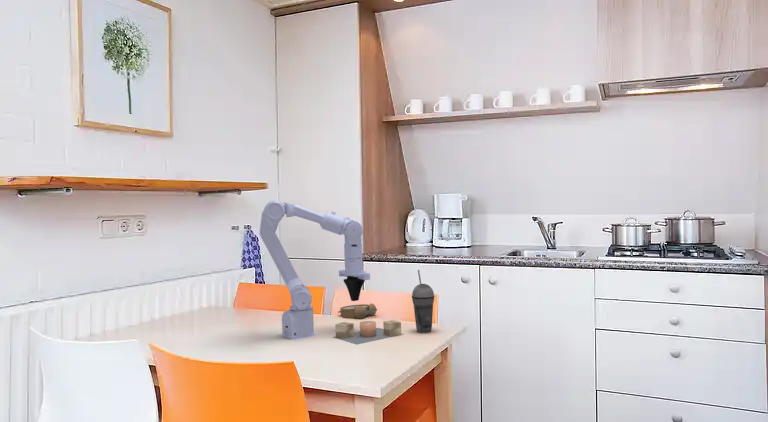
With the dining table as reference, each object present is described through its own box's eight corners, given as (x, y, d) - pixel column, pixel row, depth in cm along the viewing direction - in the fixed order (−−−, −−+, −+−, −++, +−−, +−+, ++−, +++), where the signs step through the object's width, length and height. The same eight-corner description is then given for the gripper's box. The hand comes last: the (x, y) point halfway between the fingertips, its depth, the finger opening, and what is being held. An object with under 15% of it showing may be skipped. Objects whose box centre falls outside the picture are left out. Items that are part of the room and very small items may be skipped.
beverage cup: (434, 336, 182) (432, 271, 182) (410, 335, 184) (408, 271, 183) (437, 330, 190) (435, 268, 189) (414, 330, 191) (412, 268, 191)
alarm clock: (354, 304, 227) (383, 300, 217) (356, 317, 226) (385, 314, 216) (333, 308, 218) (361, 305, 209) (335, 322, 218) (363, 319, 208)
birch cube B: (389, 336, 181) (389, 323, 180) (383, 334, 184) (383, 321, 184) (401, 335, 182) (400, 322, 182) (394, 332, 186) (394, 319, 186)
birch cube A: (345, 338, 180) (345, 325, 180) (335, 337, 182) (335, 324, 182) (354, 336, 183) (353, 323, 183) (344, 334, 185) (343, 321, 185)
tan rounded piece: (366, 338, 180) (366, 325, 180) (356, 335, 184) (356, 322, 183) (379, 335, 183) (379, 322, 183) (369, 332, 187) (369, 320, 187)
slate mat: (356, 346, 172) (356, 344, 172) (332, 339, 183) (332, 337, 183) (404, 336, 184) (404, 334, 184) (378, 329, 194) (378, 327, 194)
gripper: (377, 258, 186) (378, 301, 187) (350, 255, 198) (352, 296, 198) (358, 260, 182) (360, 304, 182) (332, 257, 193) (334, 299, 194)
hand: (354, 300), depth 190 cm, fingers closed
